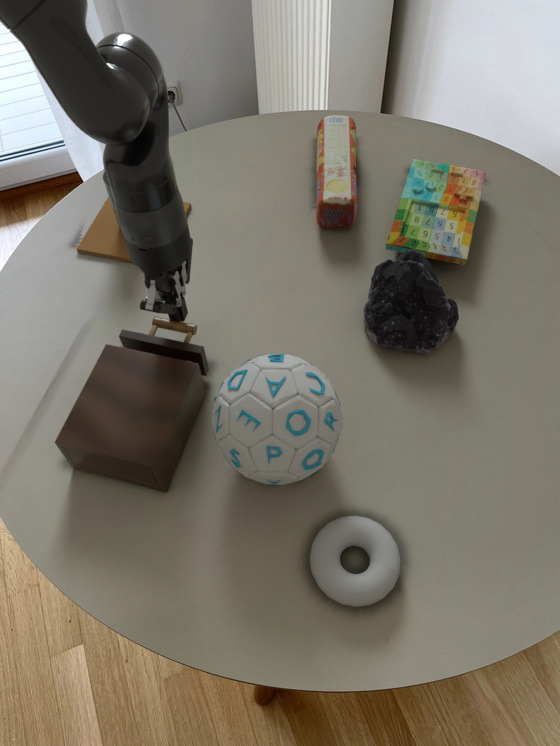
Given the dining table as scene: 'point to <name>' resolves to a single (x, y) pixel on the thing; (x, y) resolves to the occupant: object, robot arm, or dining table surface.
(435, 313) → the crystal cluster
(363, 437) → the dining table surface
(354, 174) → the snack package
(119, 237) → the cork mat
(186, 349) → the drawer
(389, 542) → the donut
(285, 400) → the puzzle ball
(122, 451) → the cabinet
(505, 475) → the dining table surface
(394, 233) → the puzzle game
